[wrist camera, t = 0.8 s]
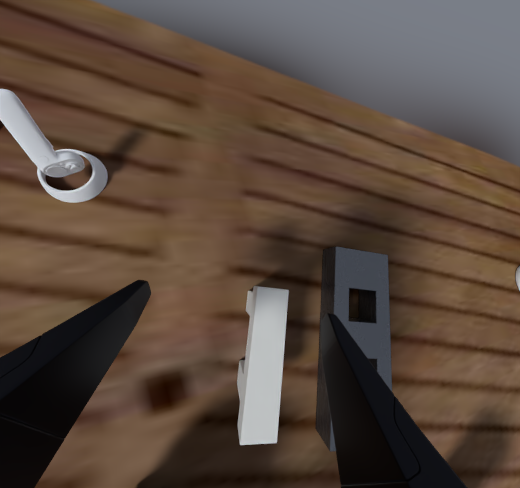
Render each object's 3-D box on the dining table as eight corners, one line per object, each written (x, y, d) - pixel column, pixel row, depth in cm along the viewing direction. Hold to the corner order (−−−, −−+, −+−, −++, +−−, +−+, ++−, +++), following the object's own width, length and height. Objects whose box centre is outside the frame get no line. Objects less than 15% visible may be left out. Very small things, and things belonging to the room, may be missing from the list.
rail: (372, 426, 23) (393, 446, 21) (315, 428, 22) (330, 451, 19) (370, 257, 28) (387, 255, 25) (323, 249, 26) (335, 246, 24)
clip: (258, 390, 21) (276, 442, 15) (233, 390, 21) (239, 445, 14) (269, 286, 24) (288, 290, 17) (246, 283, 23) (257, 286, 17)
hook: (57, 82, 19) (60, 87, 15) (110, 177, 25) (120, 194, 22) (-37, 84, 16) (-56, 90, 12) (53, 191, 23) (55, 212, 19)
